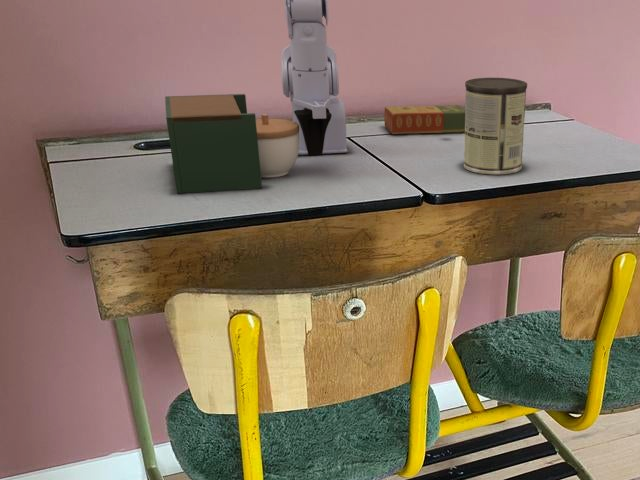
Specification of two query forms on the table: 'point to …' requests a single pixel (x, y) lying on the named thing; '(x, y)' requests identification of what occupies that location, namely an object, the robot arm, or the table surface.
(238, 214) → the table surface
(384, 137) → the table surface
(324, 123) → the robot arm
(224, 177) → the cabinet
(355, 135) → the table surface
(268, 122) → the trinket box
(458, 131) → the carton
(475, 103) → the coffee can
